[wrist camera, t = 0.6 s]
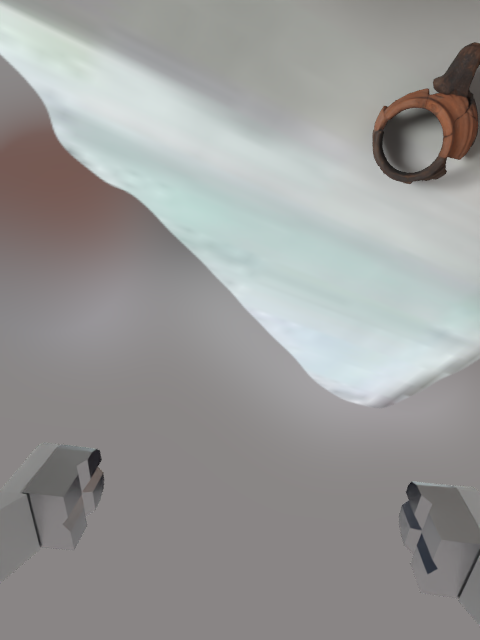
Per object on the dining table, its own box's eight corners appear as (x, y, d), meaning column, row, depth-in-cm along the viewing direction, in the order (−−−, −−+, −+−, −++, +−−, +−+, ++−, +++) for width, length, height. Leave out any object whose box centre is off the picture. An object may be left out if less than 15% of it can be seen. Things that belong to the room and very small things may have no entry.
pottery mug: (454, 181, 41) (434, 205, 36) (376, 151, 44) (348, 170, 39) (529, 50, 32) (517, 59, 27) (426, 25, 35) (397, 29, 30)
